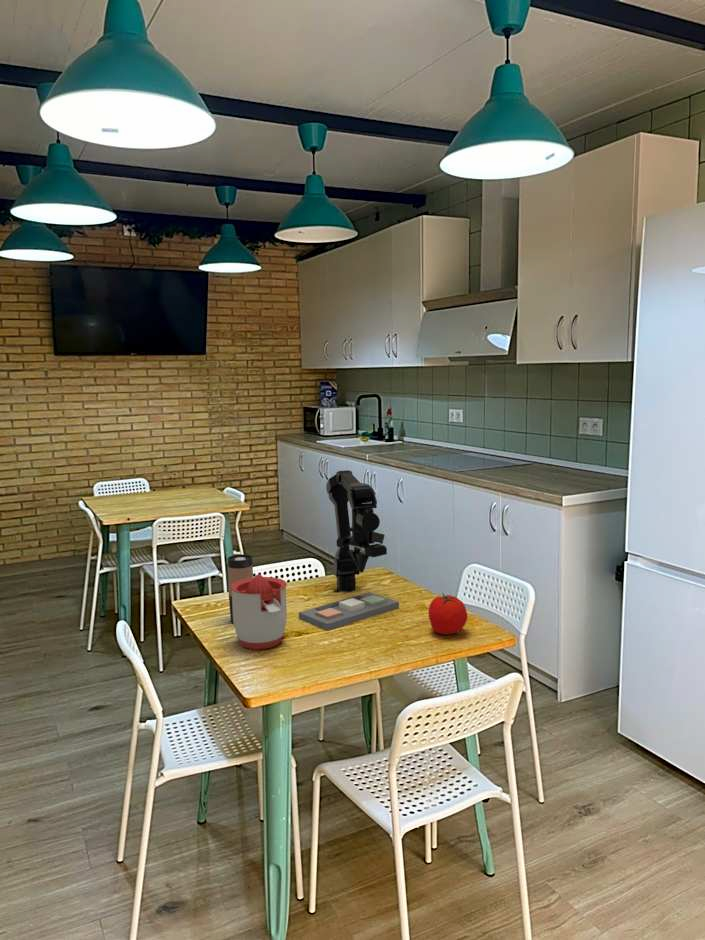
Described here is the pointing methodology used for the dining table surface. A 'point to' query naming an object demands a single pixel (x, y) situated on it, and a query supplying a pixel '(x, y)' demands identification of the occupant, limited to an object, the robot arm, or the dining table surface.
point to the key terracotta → (329, 613)
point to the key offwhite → (351, 605)
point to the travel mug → (238, 573)
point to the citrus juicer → (259, 611)
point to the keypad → (347, 616)
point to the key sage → (373, 600)
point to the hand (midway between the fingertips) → (361, 572)
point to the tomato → (447, 614)
